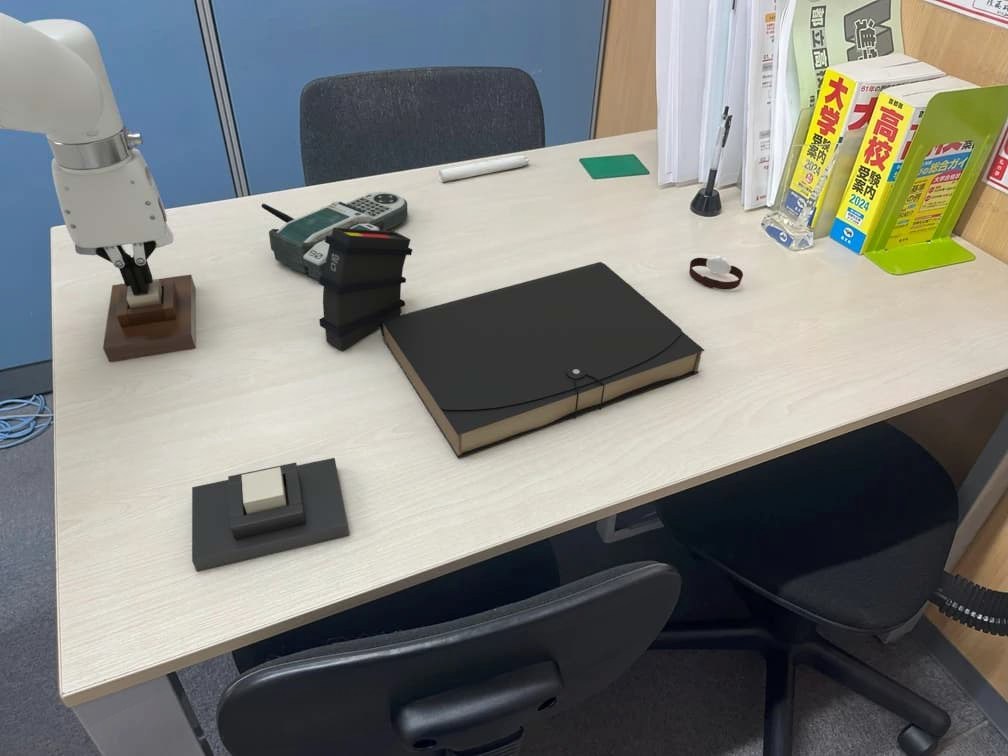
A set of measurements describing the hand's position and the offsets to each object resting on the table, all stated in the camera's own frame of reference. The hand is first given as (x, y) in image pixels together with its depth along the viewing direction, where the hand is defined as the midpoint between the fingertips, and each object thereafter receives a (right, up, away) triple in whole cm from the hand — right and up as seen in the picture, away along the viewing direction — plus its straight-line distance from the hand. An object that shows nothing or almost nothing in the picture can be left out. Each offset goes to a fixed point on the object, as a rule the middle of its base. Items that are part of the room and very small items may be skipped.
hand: (141, 288), depth 89 cm
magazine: (+28, -4, +5) cm, 29 cm away
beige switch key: (0, -1, +1) cm, 2 cm away
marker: (+42, +26, +40) cm, 64 cm away
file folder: (+50, -9, +1) cm, 50 cm away
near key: (+23, -23, -21) cm, 38 cm away
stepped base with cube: (+23, -25, -19) cm, 39 cm away
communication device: (+22, +10, +21) cm, 32 cm away
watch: (+76, +3, +16) cm, 78 cm away
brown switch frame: (0, -4, +4) cm, 5 cm away
